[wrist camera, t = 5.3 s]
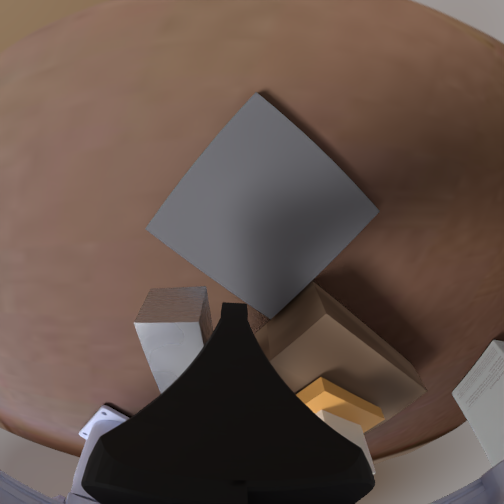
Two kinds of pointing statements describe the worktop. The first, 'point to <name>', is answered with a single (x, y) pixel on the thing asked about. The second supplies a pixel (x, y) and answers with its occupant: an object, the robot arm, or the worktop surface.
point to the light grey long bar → (173, 330)
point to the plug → (342, 411)
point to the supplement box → (485, 400)
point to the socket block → (337, 353)
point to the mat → (262, 209)
